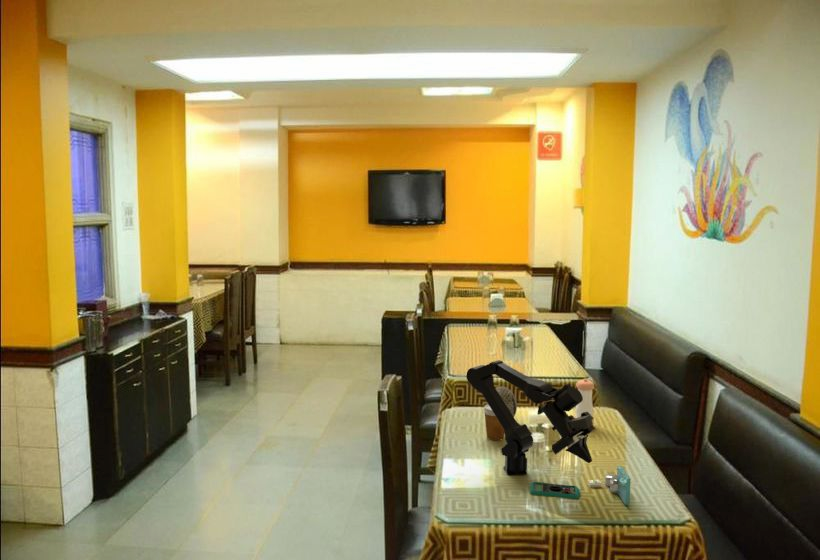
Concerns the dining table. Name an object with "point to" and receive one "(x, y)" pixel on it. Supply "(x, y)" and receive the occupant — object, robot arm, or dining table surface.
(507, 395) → the decorative egg
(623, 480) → the light blue tilted panel
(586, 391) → the pepper shaker
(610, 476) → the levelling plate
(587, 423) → the robot arm
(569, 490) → the digital multimeter
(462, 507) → the dining table surface
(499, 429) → the disposable coffee cup
